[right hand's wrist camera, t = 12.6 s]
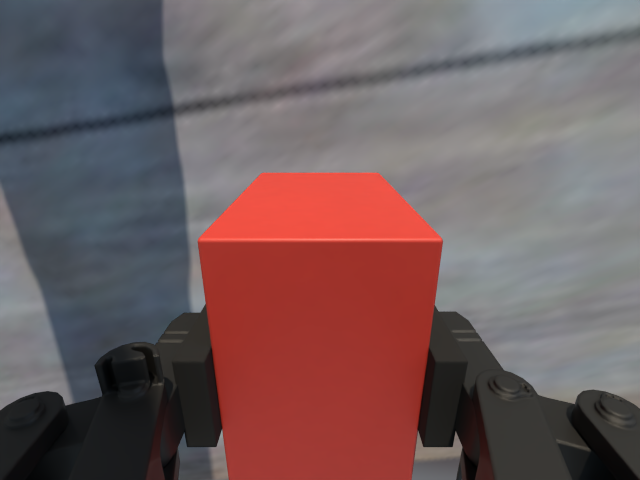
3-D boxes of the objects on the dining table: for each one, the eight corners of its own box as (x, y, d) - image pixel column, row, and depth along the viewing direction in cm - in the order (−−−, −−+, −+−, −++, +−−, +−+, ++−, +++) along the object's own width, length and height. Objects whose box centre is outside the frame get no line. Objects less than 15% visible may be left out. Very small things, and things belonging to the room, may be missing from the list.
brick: (379, 172, 16) (445, 238, 7) (370, 325, 18) (410, 496, 10) (261, 172, 16) (195, 238, 7) (269, 325, 18) (229, 495, 10)
